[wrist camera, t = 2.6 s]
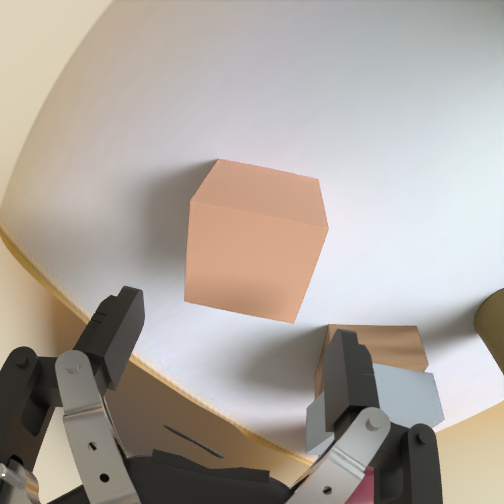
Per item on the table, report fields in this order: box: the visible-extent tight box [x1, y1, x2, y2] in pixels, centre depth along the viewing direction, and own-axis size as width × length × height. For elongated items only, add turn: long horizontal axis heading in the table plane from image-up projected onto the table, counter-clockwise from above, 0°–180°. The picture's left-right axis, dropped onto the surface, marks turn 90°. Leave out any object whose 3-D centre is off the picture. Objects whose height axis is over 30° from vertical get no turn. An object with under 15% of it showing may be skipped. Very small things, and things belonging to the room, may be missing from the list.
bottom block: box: [315, 324, 429, 400], centre depth 25 cm, size 8×8×4 cm
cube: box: [184, 159, 329, 323], centre depth 17 cm, size 6×6×6 cm
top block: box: [306, 363, 445, 455], centre depth 21 cm, size 8×8×4 cm
